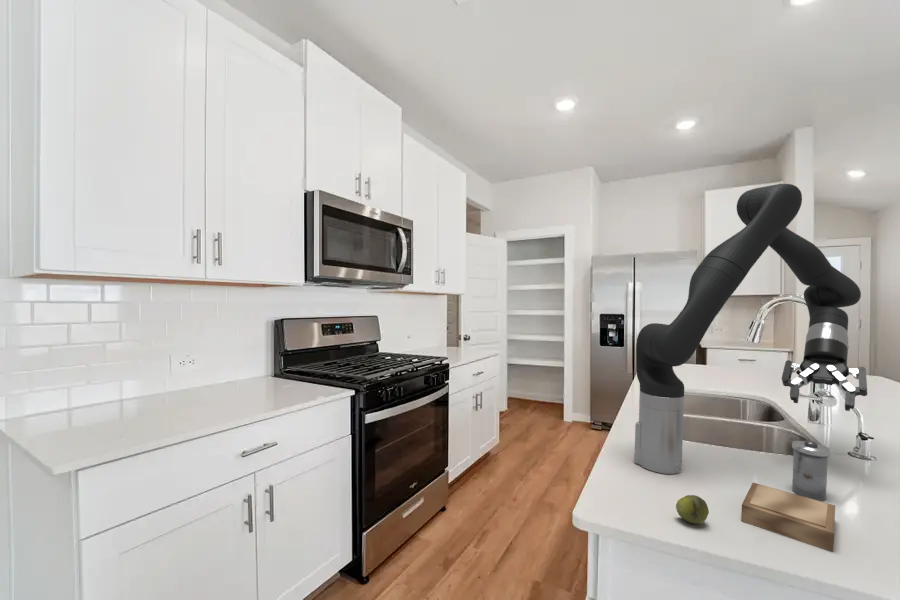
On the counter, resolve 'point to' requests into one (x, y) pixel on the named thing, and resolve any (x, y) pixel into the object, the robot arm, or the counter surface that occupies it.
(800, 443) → the grey lidded canister
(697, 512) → the lime
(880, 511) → the counter surface
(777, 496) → the stand
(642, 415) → the robot arm
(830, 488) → the counter surface
